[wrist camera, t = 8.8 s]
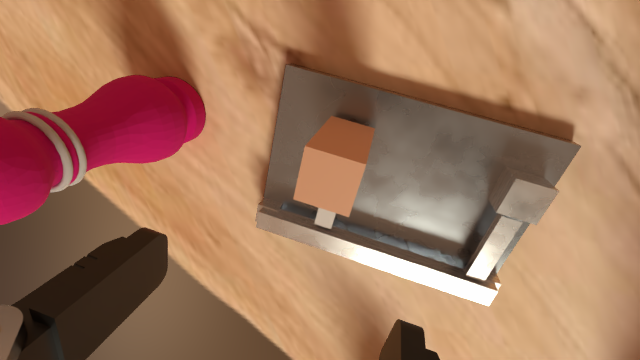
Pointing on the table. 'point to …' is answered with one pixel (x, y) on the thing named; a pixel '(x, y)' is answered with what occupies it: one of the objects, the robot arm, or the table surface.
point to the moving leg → (333, 168)
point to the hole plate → (415, 183)
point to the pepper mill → (93, 137)
